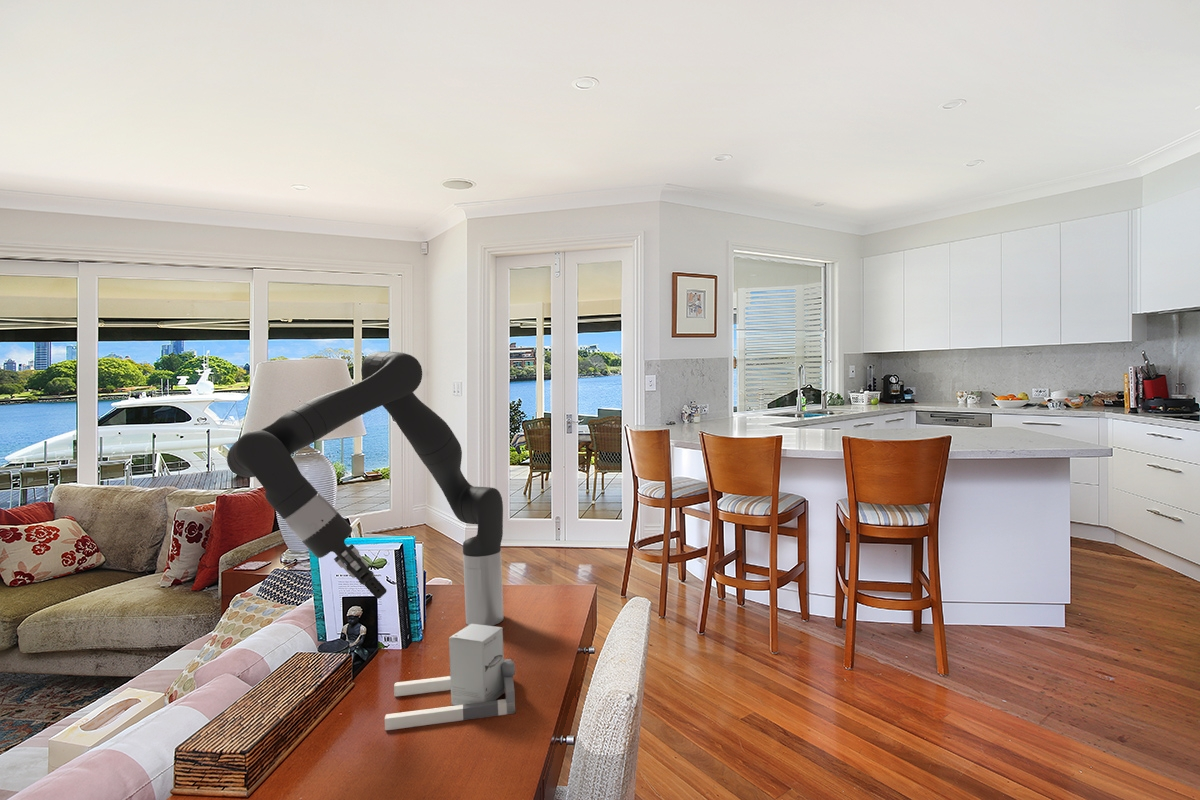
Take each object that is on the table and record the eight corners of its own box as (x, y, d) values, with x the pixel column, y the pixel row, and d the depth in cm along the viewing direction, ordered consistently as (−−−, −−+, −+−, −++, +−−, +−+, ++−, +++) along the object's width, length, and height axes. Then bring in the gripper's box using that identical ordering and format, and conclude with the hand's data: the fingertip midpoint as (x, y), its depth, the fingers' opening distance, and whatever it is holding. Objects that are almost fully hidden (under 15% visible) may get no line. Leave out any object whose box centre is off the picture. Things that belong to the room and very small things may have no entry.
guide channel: (395, 692, 120) (394, 661, 120) (514, 678, 124) (512, 648, 124) (385, 730, 107) (383, 695, 107) (518, 712, 111) (516, 679, 111)
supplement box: (484, 712, 112) (481, 641, 112) (450, 705, 115) (447, 636, 115) (506, 692, 119) (503, 626, 118) (473, 686, 122) (470, 622, 121)
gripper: (339, 512, 108) (405, 585, 112) (333, 508, 120) (392, 574, 123) (301, 543, 105) (370, 617, 109) (298, 536, 117) (360, 603, 120)
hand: (382, 594), depth 116 cm, fingers closed
